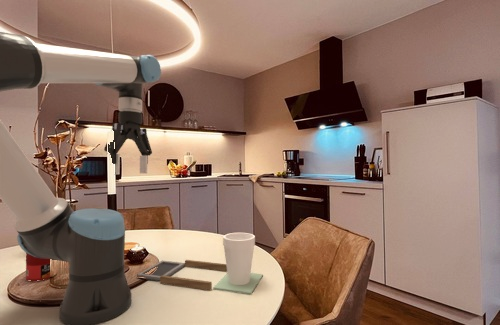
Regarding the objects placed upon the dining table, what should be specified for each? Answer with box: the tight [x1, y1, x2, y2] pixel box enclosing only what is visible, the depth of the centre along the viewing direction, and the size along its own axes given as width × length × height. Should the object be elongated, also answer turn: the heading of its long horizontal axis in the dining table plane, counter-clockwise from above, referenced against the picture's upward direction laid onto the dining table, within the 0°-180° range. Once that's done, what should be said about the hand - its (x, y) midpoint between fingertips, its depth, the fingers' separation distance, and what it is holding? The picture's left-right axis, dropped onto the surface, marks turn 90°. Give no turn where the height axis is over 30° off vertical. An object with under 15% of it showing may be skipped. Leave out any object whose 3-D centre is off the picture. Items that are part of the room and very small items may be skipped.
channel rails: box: [159, 259, 227, 291], centre depth 85 cm, size 15×16×2 cm
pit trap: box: [136, 260, 186, 283], centre depth 88 cm, size 13×9×1 cm
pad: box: [212, 272, 264, 296], centre depth 81 cm, size 13×11×1 cm
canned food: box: [25, 252, 51, 282], centre depth 85 cm, size 8×8×11 cm
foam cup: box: [222, 232, 256, 285], centre depth 81 cm, size 10×9×13 cm
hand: (130, 173), depth 94 cm, fingers open, 13 cm apart
